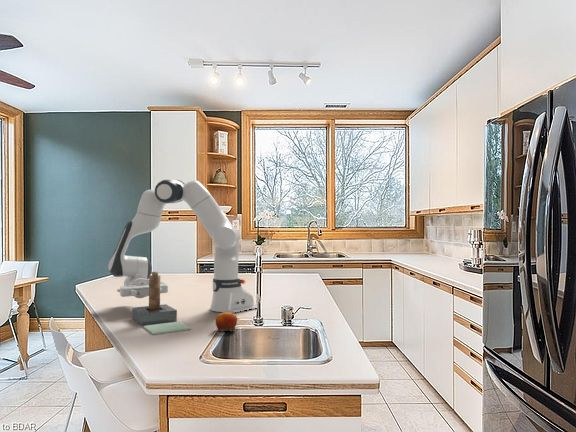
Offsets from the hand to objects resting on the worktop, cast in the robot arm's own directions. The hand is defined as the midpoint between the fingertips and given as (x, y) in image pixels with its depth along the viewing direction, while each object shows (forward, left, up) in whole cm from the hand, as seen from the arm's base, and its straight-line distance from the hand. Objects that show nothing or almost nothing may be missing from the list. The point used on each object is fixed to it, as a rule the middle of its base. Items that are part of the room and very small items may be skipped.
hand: (148, 292), depth 181 cm
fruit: (-18, +38, -10) cm, 44 cm away
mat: (0, +24, -10) cm, 26 cm away
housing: (0, +8, -10) cm, 13 cm away
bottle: (0, +8, -10) cm, 13 cm away
